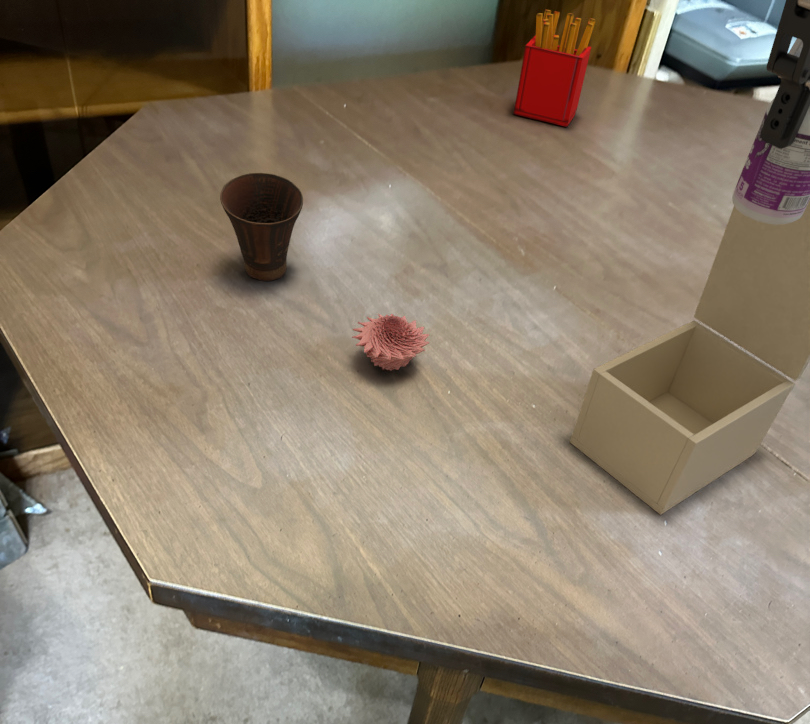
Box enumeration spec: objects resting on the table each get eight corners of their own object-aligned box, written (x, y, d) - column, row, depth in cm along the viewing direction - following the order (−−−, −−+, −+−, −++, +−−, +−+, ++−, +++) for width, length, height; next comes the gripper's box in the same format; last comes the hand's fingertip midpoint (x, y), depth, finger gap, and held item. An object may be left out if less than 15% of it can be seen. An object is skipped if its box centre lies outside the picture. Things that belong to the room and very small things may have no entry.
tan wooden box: (660, 515, 70) (696, 443, 63) (569, 442, 75) (593, 368, 69) (754, 454, 76) (795, 383, 70) (664, 391, 82) (694, 319, 75)
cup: (249, 305, 86) (241, 219, 78) (215, 266, 90) (205, 181, 83) (318, 286, 89) (318, 202, 82) (282, 249, 94) (279, 166, 86)
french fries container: (524, 101, 131) (542, 5, 120) (576, 114, 129) (598, 17, 119) (512, 116, 127) (529, 17, 116) (566, 129, 125) (588, 30, 114)
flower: (440, 376, 80) (446, 331, 76) (372, 396, 77) (375, 350, 73) (403, 335, 85) (407, 290, 80) (337, 352, 82) (338, 306, 77)
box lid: (880, 222, 57) (921, 197, 59) (750, 159, 62) (792, 138, 64) (795, 381, 69) (831, 356, 71) (693, 317, 75) (729, 295, 77)
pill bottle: (733, 186, 60) (789, 47, 53) (802, 203, 59) (869, 64, 52) (725, 216, 57) (784, 72, 50) (798, 234, 56) (869, 90, 49)
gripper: (949, -180, 36) (785, 179, 49) (1071, -183, 43) (898, 136, 56) (812, -207, 40) (693, 134, 53) (944, -206, 46) (809, 98, 59)
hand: (799, 134), depth 54 cm, fingers closed on pill bottle, 5 cm apart
